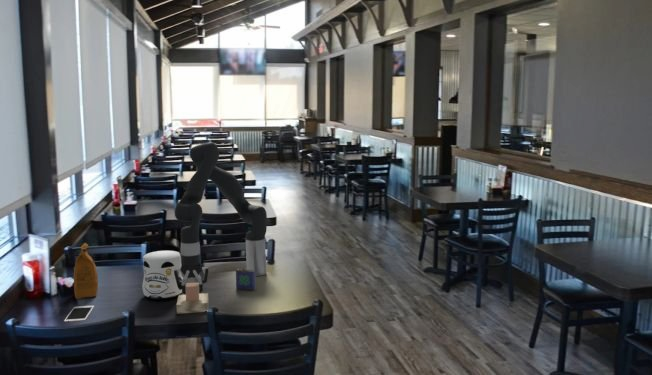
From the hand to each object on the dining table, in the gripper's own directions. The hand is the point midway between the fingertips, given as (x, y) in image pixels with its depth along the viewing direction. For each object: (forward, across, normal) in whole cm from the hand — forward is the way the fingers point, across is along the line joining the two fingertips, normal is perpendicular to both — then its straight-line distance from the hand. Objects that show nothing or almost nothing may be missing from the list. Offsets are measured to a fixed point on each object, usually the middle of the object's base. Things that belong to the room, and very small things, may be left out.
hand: (192, 293), depth 235 cm
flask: (+6, -22, -18) cm, 29 cm away
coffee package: (+6, +46, -25) cm, 53 cm away
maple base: (+6, 0, 0) cm, 6 cm away
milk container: (+6, +13, -17) cm, 22 cm away
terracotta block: (+2, 0, 0) cm, 2 cm away
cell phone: (+7, +44, -2) cm, 45 cm away
